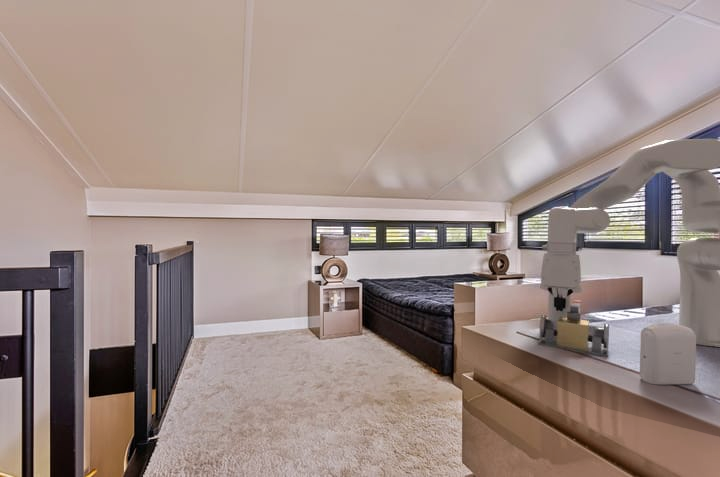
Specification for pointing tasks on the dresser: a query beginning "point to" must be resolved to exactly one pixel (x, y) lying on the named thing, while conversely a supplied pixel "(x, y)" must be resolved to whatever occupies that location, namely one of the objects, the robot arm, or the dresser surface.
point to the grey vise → (574, 336)
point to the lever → (574, 311)
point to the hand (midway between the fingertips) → (559, 310)
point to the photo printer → (668, 354)
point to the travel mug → (552, 310)
